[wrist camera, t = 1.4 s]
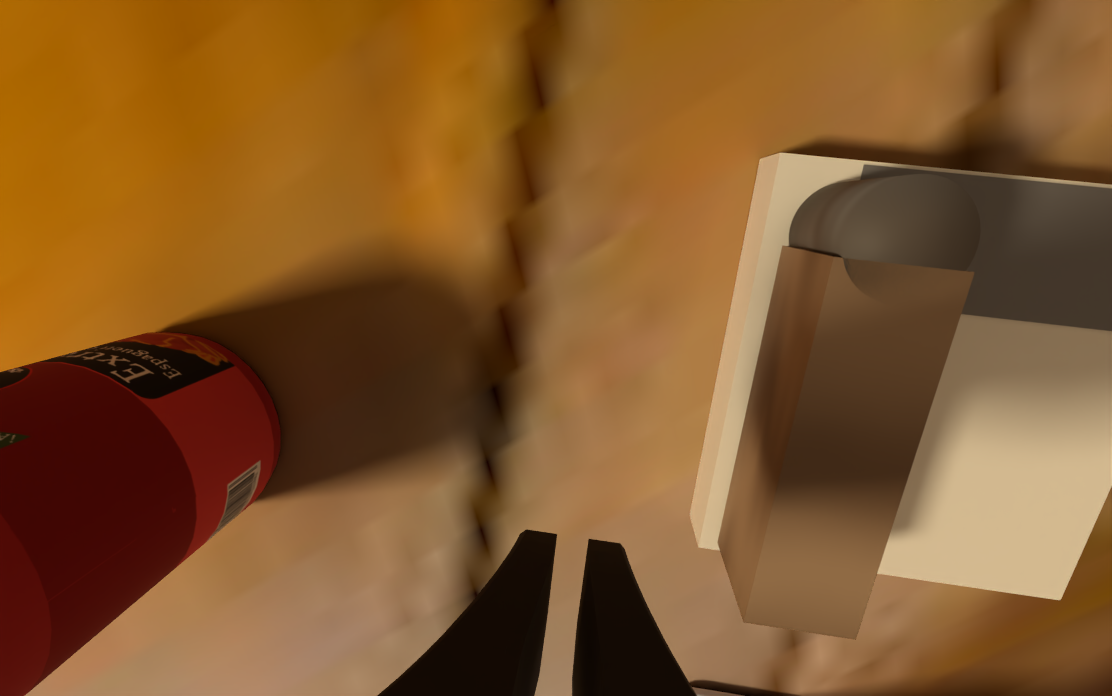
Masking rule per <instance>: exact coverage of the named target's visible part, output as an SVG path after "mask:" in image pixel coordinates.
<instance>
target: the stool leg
mask: <svg viewBox="0 0 1112 696" xmlns="http://www.w3.org/2000/svg"><path fill="white" fill-rule="evenodd" d="M980 232H981V229H980V218H979V213H978V210H977V207H976V205H975V203H974V201H973V199H972V198H971V197H970V195H969V194H968V193H967V192H966V191H965V190H964V189H963V188H962V187H961V186H960V185H958V184H957V183H955V182H954V181H952V180H949V179H947V178H945V177H942V176H938V175H932V174H913V175H903V176H894V177H884V178H875V179H865V180H855V181H846V182H838V183H833V184H830V185H827V186H825V187H823V188H821V189H819V190H817V191H816V192H814V193H813V194H812V195H810V196H809V197H808V198H807V199H806V200H805V201H804V202H803V203H802V204H801V206H800V207H799V208H798V210H797V212H796V213H795V215H794V217H793V220H792V222H791V226H790V230H789V246H782V249H781V254H780V258H779V263H778V268H777V272H776V277H775V281H774V286H773V290H772V295H771V300H770V304H769V309H768V313H767V318H766V323H765V327H764V332H763V336H762V341H761V345H760V350H759V355H758V359H757V364H756V368H755V373H754V377H753V382H752V387H751V391H750V396H749V400H748V405H747V409H746V414H745V419H744V423H743V428H742V432H741V437H740V441H739V446H738V451H737V455H736V460H735V464H734V469H733V473H732V478H731V483H730V487H729V492H728V496H727V501H726V505H725V510H724V515H723V519H722V524H721V528H720V533H719V537H718V542H717V543H718V546H719V549H720V552H721V555H722V558H723V561H724V564H725V567H726V570H727V573H728V576H729V579H730V582H731V585H732V589H733V592H734V595H735V598H736V601H737V604H738V607H739V610H740V613H741V616H742V619H743V622H745V623H751V624H758V625H764V626H771V627H777V628H784V629H790V630H796V631H803V632H809V633H816V634H822V635H829V636H835V637H842V638H848V639H855V640H856V637H857V634H858V631H859V628H860V625H861V622H862V619H863V616H864V613H865V609H866V606H867V603H868V600H869V597H870V594H871V591H872V588H873V585H874V582H875V579H876V575H877V572H878V569H879V566H880V563H881V560H882V557H883V554H884V551H885V548H886V545H887V542H888V538H889V535H890V532H891V529H892V526H893V523H894V520H895V517H896V514H897V511H898V508H899V504H900V501H901V498H902V495H903V492H904V489H905V486H906V483H907V480H908V477H909V474H910V471H911V467H912V464H913V461H914V458H915V455H916V452H917V449H918V446H919V443H920V440H921V437H922V434H923V430H924V427H925V424H926V421H927V418H928V415H929V412H930V409H931V406H932V403H933V400H934V396H935V393H936V390H937V387H938V384H939V381H940V378H941V375H942V372H943V369H944V366H945V363H946V359H947V356H948V353H949V350H950V347H951V344H952V341H953V338H954V335H955V332H956V329H957V326H958V322H959V319H960V316H961V313H962V310H963V307H964V304H965V301H966V298H967V295H968V292H969V288H970V285H971V282H972V279H973V276H974V273H975V272H970V271H966V270H967V268H968V267H969V266H970V264H971V262H972V260H973V258H974V256H975V254H976V251H977V248H978V244H979V240H980Z"/></svg>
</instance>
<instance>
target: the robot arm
mask: <svg viewBox="0 0 1112 696" xmlns="http://www.w3.org/2000/svg"><path fill="white" fill-rule="evenodd" d="M556 538H557V534H553V533H546V532H539V531H532V530H525V531H524V532H522V533H521V534H520V535H519V537H518V539H517V541H516V543H515V544H514V546H513V548H512V549H511V551H510V553H509V554H508V556H507V557H506V558H505V560H504V561H503V563H502V564H501V566H500V567H499V568H498V570H497V571H496V573H495V574H494V575H493V576H492V578H491V579H490V580H489V582H488V583H487V584H486V585H485V587H484V588H483V589H482V590H481V592H480V593H479V594H478V595H477V597H476V598H475V599H474V600H473V602H472V603H471V604H470V605H469V606H468V607H467V608H466V610H465V611H464V612H463V613H462V614H461V615H460V616H459V617H458V618H457V620H456V621H455V622H454V623H453V624H452V625H451V626H450V627H449V628H448V630H447V631H446V632H445V633H444V634H443V635H442V636H441V637H440V638H439V639H438V640H437V641H436V642H435V643H434V644H433V645H432V646H431V647H430V648H429V649H428V650H427V651H426V652H425V653H424V654H423V655H422V656H421V657H420V658H419V659H418V660H417V661H416V662H415V663H414V664H413V665H412V666H410V667H409V668H408V669H407V670H406V671H405V672H404V673H403V674H402V675H401V676H400V677H399V678H397V679H396V680H395V681H394V682H393V683H392V684H390V685H389V686H388V687H387V688H386V689H385V690H383V691H382V692H381V693H380V694H379V695H378V696H534V695H535V690H536V686H537V682H538V677H539V673H540V665H541V658H542V651H543V644H544V637H545V630H546V622H547V614H548V606H549V598H550V589H551V581H552V572H553V564H554V555H555V547H556ZM572 696H743V695H737V694H731V693H725V692H719V691H713V690H707V689H701V688H695V687H691V685H690V683H689V682H688V680H687V678H686V677H685V675H684V673H683V672H682V670H681V668H680V666H679V665H678V663H677V661H676V660H675V658H674V656H673V654H672V653H671V651H670V649H669V647H668V645H667V643H666V642H665V640H664V638H663V636H662V634H661V632H660V630H659V628H658V626H657V624H656V622H655V620H654V618H653V616H652V614H651V612H650V610H649V608H648V606H647V604H646V602H645V600H644V597H643V595H642V593H641V591H640V588H639V586H638V584H637V581H636V579H635V577H634V574H633V572H632V569H631V566H630V564H629V561H628V558H627V555H626V552H625V549H624V548H623V547H622V545H621V544H620V543H614V542H607V541H600V540H593V539H589V541H588V548H587V556H586V563H585V570H584V577H583V585H582V592H581V599H580V606H579V613H578V621H577V630H576V641H575V653H574V665H573V676H572Z"/></svg>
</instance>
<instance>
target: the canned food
mask: <svg viewBox="0 0 1112 696" xmlns="http://www.w3.org/2000/svg"><path fill="white" fill-rule="evenodd" d="M280 444H281V431H280V426H279V420H278V415H277V412H276V409H275V407H274V404H273V401H272V399H271V397H270V395H269V393H268V392H267V390H266V388H265V386H264V385H263V383H262V381H261V380H260V379H259V378H258V376H257V375H256V374H255V373H254V372H253V370H252V369H251V368H250V367H249V366H248V365H247V364H246V363H245V362H244V361H243V360H241V359H240V358H239V357H238V356H237V355H236V354H234V353H233V352H231V351H230V350H228V349H226V348H225V347H223V346H222V345H220V344H218V343H215V342H213V341H211V340H208V339H206V338H203V337H199V336H194V335H189V334H183V333H145V334H141V335H137V336H133V337H129V338H126V339H122V340H118V341H114V342H111V343H107V344H103V345H100V346H96V347H92V348H88V349H85V350H81V351H77V352H74V353H70V354H66V355H62V356H59V357H55V358H51V359H48V360H44V361H40V362H36V363H33V364H29V365H25V366H22V367H18V368H14V369H10V370H7V371H3V372H0V696H24V695H25V694H27V693H28V692H29V691H31V690H32V689H33V688H34V687H35V686H36V685H38V684H39V683H40V682H41V681H42V680H44V679H45V678H46V677H47V676H48V675H49V674H51V673H52V672H53V671H54V670H55V669H57V668H58V667H59V666H60V665H61V664H62V663H64V662H65V661H66V660H67V659H68V658H70V657H71V656H72V655H73V654H74V653H76V652H77V651H78V650H79V649H80V648H81V647H83V646H84V645H85V644H86V643H87V642H89V641H90V640H91V639H92V638H93V637H94V636H96V635H97V634H98V633H99V632H100V631H102V630H103V629H104V628H105V627H106V626H107V625H109V624H110V623H111V622H112V621H113V620H115V619H116V618H117V617H118V616H119V615H120V614H122V613H123V612H124V611H125V610H126V609H128V608H129V607H130V606H131V605H132V604H133V603H135V602H136V601H137V600H138V599H139V598H141V597H142V596H143V595H144V594H145V593H146V592H148V591H149V590H150V589H151V588H152V587H154V586H155V585H156V584H157V583H158V582H159V581H161V580H162V579H163V578H164V577H165V576H167V575H168V574H169V573H170V572H171V571H173V570H174V569H175V568H176V567H177V566H178V565H180V564H181V563H182V562H183V561H184V560H186V559H187V558H188V557H189V556H190V555H191V554H193V553H194V552H195V551H196V550H197V549H199V548H200V547H201V546H202V545H203V544H204V543H206V542H207V541H208V540H209V539H210V538H212V537H213V536H214V535H215V534H216V533H217V532H219V531H220V530H221V529H222V528H223V527H225V526H226V525H227V524H228V523H229V522H230V521H232V520H233V519H234V518H235V517H236V516H238V515H239V514H240V513H241V512H242V511H243V510H245V509H246V508H247V507H248V506H249V505H251V504H252V503H253V502H254V501H255V499H256V498H257V497H258V496H259V495H260V493H261V492H262V491H263V489H264V488H265V486H266V484H267V482H268V481H269V479H270V477H271V475H272V473H273V471H274V469H275V467H276V465H277V461H278V457H279V453H280Z"/></svg>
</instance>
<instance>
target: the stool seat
mask: <svg viewBox="0 0 1112 696" xmlns="http://www.w3.org/2000/svg"><path fill="white" fill-rule="evenodd" d="M913 174H932V175H938V176H942V177H945V178H947V179H949V180H952V181H954V182H955V183H957V184H958V185H960V186H961V187H962V188H963V189H964V190H965V191H966V192H967V193H968V194H969V195H970V197H971V198H972V199H973V201H974V203H975V205H976V207H977V210H978V213H979V218H980V229H981V232H980V240H979V244H978V248H977V251H976V254H975V256H974V258H973V260H972V262H971V264H970V266H969V267H968V268H967V270H966V271H970V272H975V273H974V276H973V279H972V282H971V285H970V288H969V292H968V295H967V298H966V301H965V304H964V307H963V310H962V313H961V316H960V319H959V322H958V326H957V329H956V332H955V335H954V338H953V341H952V344H951V347H950V350H949V353H948V356H947V359H946V363H945V366H944V369H943V372H942V375H941V378H940V381H939V384H938V387H937V390H936V393H935V396H934V400H933V403H932V406H931V409H930V412H929V415H928V418H927V421H926V424H925V427H924V430H923V434H922V437H921V440H920V443H919V446H918V449H917V452H916V455H915V458H914V461H913V464H912V467H911V471H910V474H909V477H908V480H907V483H906V486H905V489H904V492H903V495H902V498H901V501H900V504H899V508H898V511H897V514H896V517H895V520H894V523H893V526H892V529H891V532H890V535H889V538H888V542H887V545H886V548H885V551H884V554H883V557H882V560H881V563H880V566H879V569H878V572H877V574H884V575H891V576H898V577H904V578H911V579H918V580H925V581H932V582H939V583H945V584H952V585H959V586H966V587H973V588H980V589H986V590H993V591H1000V592H1007V593H1014V594H1020V595H1027V596H1034V597H1041V598H1048V599H1055V600H1061V598H1062V596H1063V593H1064V591H1065V589H1066V587H1067V584H1068V582H1069V580H1070V578H1071V576H1072V573H1073V571H1074V569H1075V567H1076V564H1077V562H1078V560H1079V558H1080V555H1081V553H1082V551H1083V549H1084V546H1085V544H1086V542H1087V540H1088V538H1089V535H1090V533H1091V531H1092V529H1093V526H1094V524H1095V522H1096V520H1097V517H1098V515H1099V513H1100V511H1101V509H1102V506H1103V504H1104V502H1105V500H1106V497H1107V495H1108V493H1109V491H1110V488H1111V486H1112V185H1110V184H1100V183H1089V182H1079V181H1069V180H1058V179H1048V178H1038V177H1027V176H1017V175H1007V174H996V173H986V172H976V171H965V170H955V169H945V168H934V167H924V166H914V165H903V164H893V163H883V162H872V161H862V160H852V159H841V158H831V157H821V156H810V155H800V154H790V153H777V154H774V155H771V156H768V157H765V158H761V159H760V161H759V167H758V172H757V177H756V182H755V187H754V192H753V197H752V202H751V207H750V212H749V217H748V222H747V227H746V232H745V237H744V242H743V247H742V252H741V257H740V263H739V268H738V273H737V278H736V283H735V288H734V293H733V298H732V303H731V308H730V313H729V318H728V323H727V328H726V333H725V338H724V343H723V348H722V353H721V359H720V364H719V369H718V374H717V379H716V384H715V389H714V394H713V399H712V404H711V409H710V414H709V419H708V424H707V429H706V434H705V439H704V444H703V449H702V455H701V460H700V465H699V470H698V475H697V480H696V485H695V490H694V495H693V500H692V505H691V510H690V518H691V521H692V525H693V529H694V533H695V536H696V540H697V544H698V547H700V548H707V549H713V550H720V549H719V546H718V543H717V542H718V537H719V533H720V528H721V524H722V519H723V515H724V510H725V505H726V501H727V496H728V492H729V487H730V483H731V478H732V473H733V469H734V464H735V460H736V455H737V451H738V446H739V441H740V437H741V432H742V428H743V423H744V419H745V414H746V409H747V405H748V400H749V396H750V391H751V387H752V382H753V377H754V373H755V368H756V364H757V359H758V355H759V350H760V345H761V341H762V336H763V332H764V327H765V323H766V318H767V313H768V309H769V304H770V300H771V295H772V290H773V286H774V281H775V277H776V272H777V268H778V263H779V258H780V254H781V249H782V246H789V230H790V226H791V222H792V220H793V217H794V215H795V213H796V212H797V210H798V208H799V207H800V206H801V204H802V203H803V202H804V201H805V200H806V199H807V198H808V197H809V196H810V195H812V194H813V193H814V192H816V191H817V190H819V189H821V188H823V187H825V186H827V185H830V184H833V183H838V182H846V181H855V180H865V179H875V178H884V177H894V176H903V175H913Z"/></svg>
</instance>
